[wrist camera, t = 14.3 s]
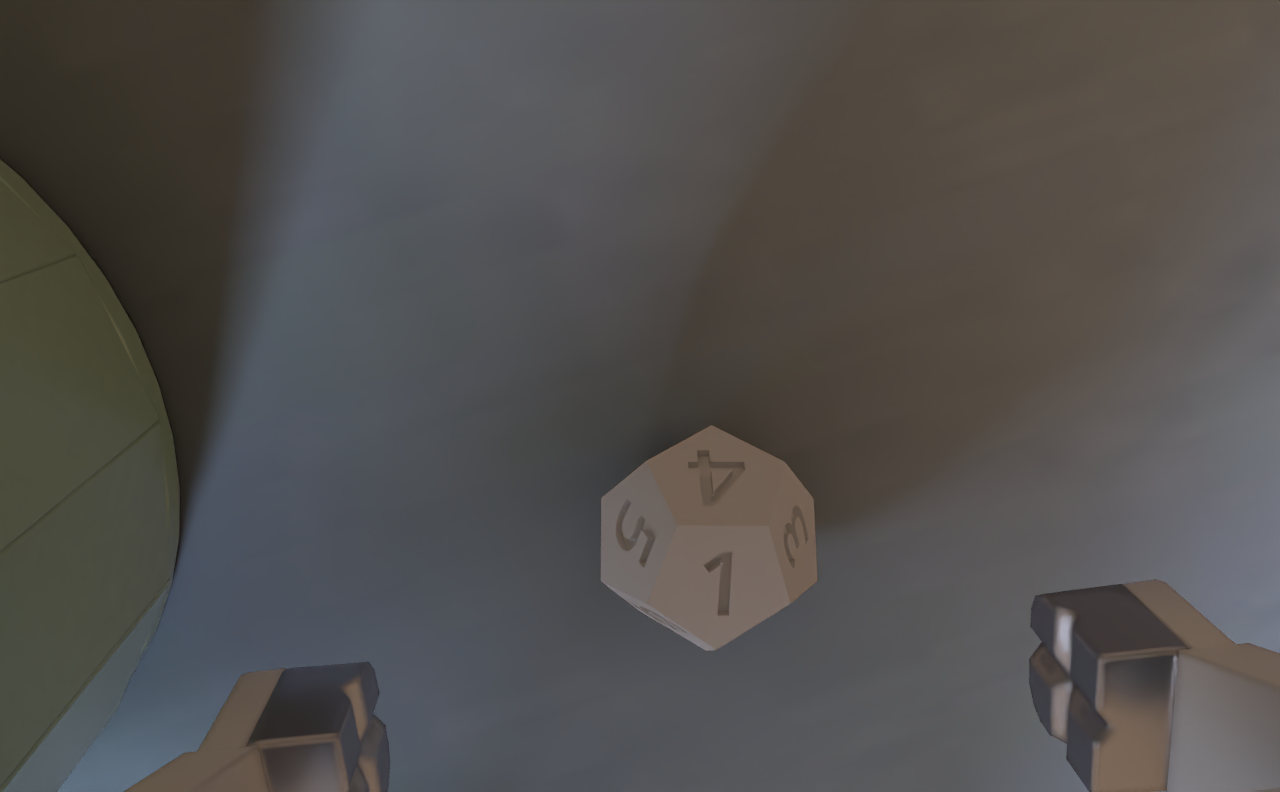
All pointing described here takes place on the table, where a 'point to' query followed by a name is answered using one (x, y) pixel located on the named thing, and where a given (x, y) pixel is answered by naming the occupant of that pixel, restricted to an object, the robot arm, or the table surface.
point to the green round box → (72, 496)
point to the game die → (709, 538)
